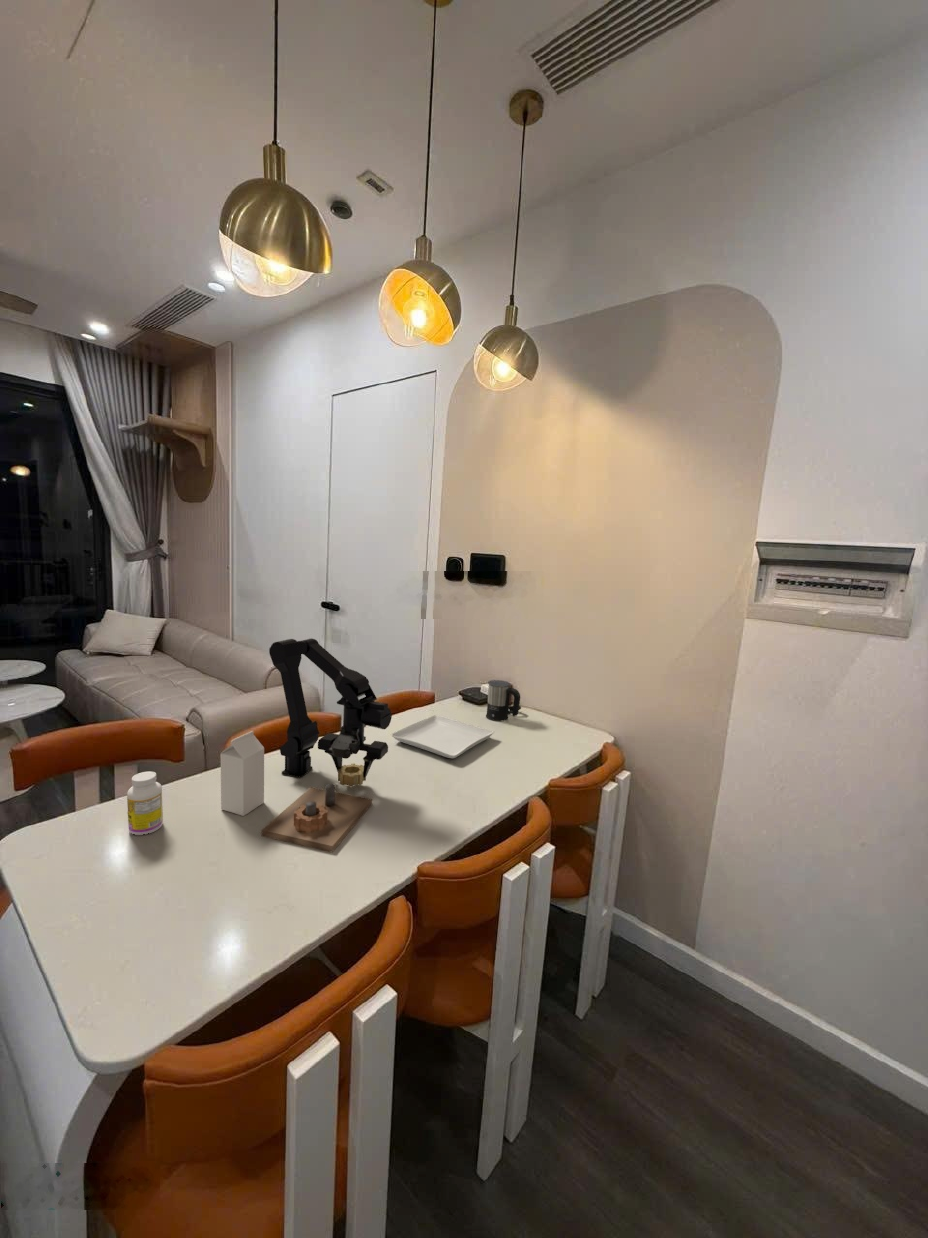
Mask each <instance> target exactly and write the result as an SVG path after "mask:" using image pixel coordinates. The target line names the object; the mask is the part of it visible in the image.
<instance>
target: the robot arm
mask: <svg viewBox="0 0 928 1238" xmlns="http://www.w3.org/2000/svg"><path fill="white" fill-rule="evenodd" d="M270 645H271V646H270V647H269V649H268V651H269V657H270V658H271V659H270V660H271V662H272V665H273V666H274V667H275V668H276V669H277V671H279V673H280V677H281V681H282V687H283V691H284V696H285V697H284V698H285V701H286V706H287V712H288V717H289V724H288V727H287V730H286V737H287V738H286V740H287V741H286V742H284V744H283V745H281V746H280V747H279V749H278V750H279V752H280V755H281V756H283V757H284V769H283V770H282V771H281V775H285V776H291V777H295V778H302V777H303V776H305V775H306V774H308V773H309V771H311V770H312V769H313V765H311V764H312V756H311V755H310V753H311V751H310V750H312V749H314V747H315V744H316V743H317V749H318V750H322V751H324V753H326V754H328V755H330V757H331V758H332V760H333V763H334V765H335V768H336V771H337V773H338V769H341V768H342V766H343V759H345V760H346V759H349V758H350V757H351V755H353V754H354V755H357V754H358V752H359V751H363V752H366V755H365V756H364V757H363V758H362V760H363V762H364V763H363V766H364V772H363V776H364V778H365V777H366V778H367V776H368V773H369V771H370V769H371V767H372V765H373V763H374V761H376V760H377V761H378V760H382V758H384V757H385V755H386V754H388V752H389V746H388V743H387V742H385V741H384V742H383V741H379V740H374V741H373V742H372V743H365V741H366V739H367V736H365V728H366V727H367V726H368V727H373V728H376V729H380V730H387V728H389V727H390V723H391V722H392V717H393V714H392V711H391V709H390V708H389V703H388V702H379V701H377V696H376V695H375V692H374V691H373V689H372V686H371V685H370V681H369V679H368V678H367V676H365V675H363V674H362V673H360V672H359V671H356V670H354V669H351V668H348V667H346V666H345V665H344V664H342V663H341V662H340V661H339V660H338V659H337V658H336V657H334V655H333V654H331V653H330V652H329V651H328V650H326V649H325V648H324V647H323V646H322V645H321V644H319V642H318V640H317V639H315V638H312V637H311V638H307V639H302V640H296V639H294V638H287V639H284V640H283V639H282V640H278V641H274V642H272V644H270ZM302 655H304V656H305V657H306V658H308V660H309V661H310V662H312V663H313V664H314V665H315V666H316V667H317V668H318V669H320V670H321V672H323V674H324V673H325V674H326V676H327V677H329V678H330V679H331V681H332V682H333V683H334V687H335V689H336V691H337V693H339V694H340V695H341V698H340V699H339V700H337V701H336V704H337V705H339V706H343V712H342V713H343V716H342V717H343V719H342V721H343V722H342V723H343V724H342V726H341V727H340V732H339V734H337V733H331V732H327V733H326V734H325V735H324V736H322V737H320V738H319V735H320V734H321V733H320V731H319V729H318V722H317V721H316V720H314V721H313V720H312V719H311V718H310V717H309V716H308V711H307V706H306V701H305V695H304V691H303V687H302V680H301V677H300V676H301V675H300V671H299V667H300V665H301V662H302V657H303V656H302ZM363 696H364V697H363ZM360 697H361V698H360ZM359 698H360V699H359Z"/></svg>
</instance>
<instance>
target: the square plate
mask: <svg viewBox="0 0 928 1238" xmlns="http://www.w3.org/2000/svg"><path fill="white" fill-rule="evenodd" d="M494 734H495V731H493V730H490V729H488V728H483V727H480V726H477V725H474V724H471V723H467V722H464V721H461V720H456V719H453V718H449V717H445V716H442V715H437V714H435V715H432V716H429V717H427V718H423V719H421V720H419V721H417V722H414V723H412V724H410V725H408V726H406V727H405V726H404V727H402V728H401V729H399V730H397V731H395V732H393V733H391V734H390V736H391V737H392V738H393V739H395V740H396V741H398V742H400V743H403V744H406V745H410V746H412V747H415V748H418V749H421V750H424V751H427V752H430V753H433V754H436V755H438V756H441V757H444V758H448V759H455V758H458V757H459V756H461V755H462V754H463V753H465V752H467V751H468V750H470V749H471V748H473V747H476V746H477V745H479V744H480V743H482V742H484V741H486V740H488V739H489V738H490V737H492V735H494Z"/></svg>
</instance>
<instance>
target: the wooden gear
mask: <svg viewBox="0 0 928 1238" xmlns="http://www.w3.org/2000/svg"><path fill="white" fill-rule="evenodd" d="M363 772H364V764H356V763H351V764H348V765H347V764H342V768H341V769H338V772H337V781H338V782H339V785H341V786H348V787H349V788H352V787H354V786H357V785H358V786H361V785H363V784H364V782H365V781H366V779H367V776H366V777H365V778H364V776H363Z"/></svg>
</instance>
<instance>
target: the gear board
mask: <svg viewBox="0 0 928 1238" xmlns="http://www.w3.org/2000/svg"><path fill="white" fill-rule="evenodd" d="M324 787H325V789H324V788H322V789H321V788H318V787H314V786H313V787H312V786H311V787H309V788H308V789H307V790H306V791H305V792H303V793H302V794H301V795H300V796H299V797H298V798H296V799H295V800H294V801H293V802H292V803H290V805H288V806H287V807H286V808H285V809H284V810H282V811H281V813H279V814H278V815H277V816H276V817H275V818H273V819H272V820H271V821H270V822H269V823H267V825H265V826H264V827H263V828H262V829H261V837H265V838H269V839H272V840H273V839H275V840H278V841H282V842H287V843H291V844H295V845H299V846H304V847H309V848H313V849H318V850H321V851H326V852H330V853H333V852H334V851H335V850H336V848H337V847H338V846H339V845H340V844H341V842H342V841H343V840H344V839H345V837H346V836H347V835H348V834H349V833H350V831H352V830H353V828H354V827H355V825H357V823H358V822H359V821H360V820H361V819H362V817H363V816H364V815H365V814H366V812H367V811H368V810H369V809H370V808H371V806H372V805H373V799H372V798H368V797H363V796H357V795H353V794H349V793H343V792H337V791H336V784H334V783H328V784H326V785H325V786H324Z"/></svg>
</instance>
